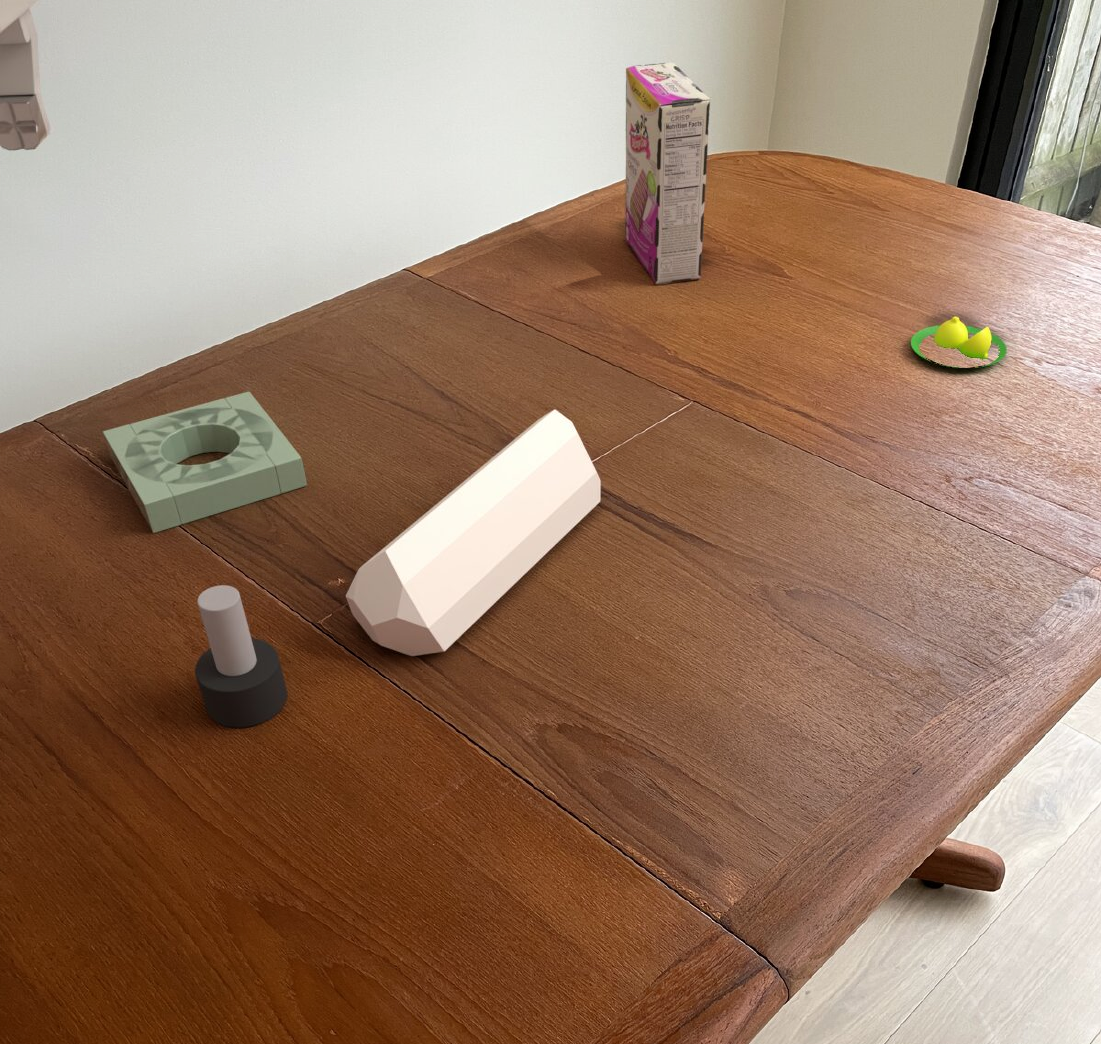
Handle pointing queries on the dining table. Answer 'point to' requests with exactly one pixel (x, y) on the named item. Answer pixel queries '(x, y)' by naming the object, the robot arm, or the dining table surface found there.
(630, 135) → the candy bar box
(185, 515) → the sink plate
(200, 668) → the stopper
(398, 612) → the crystal
